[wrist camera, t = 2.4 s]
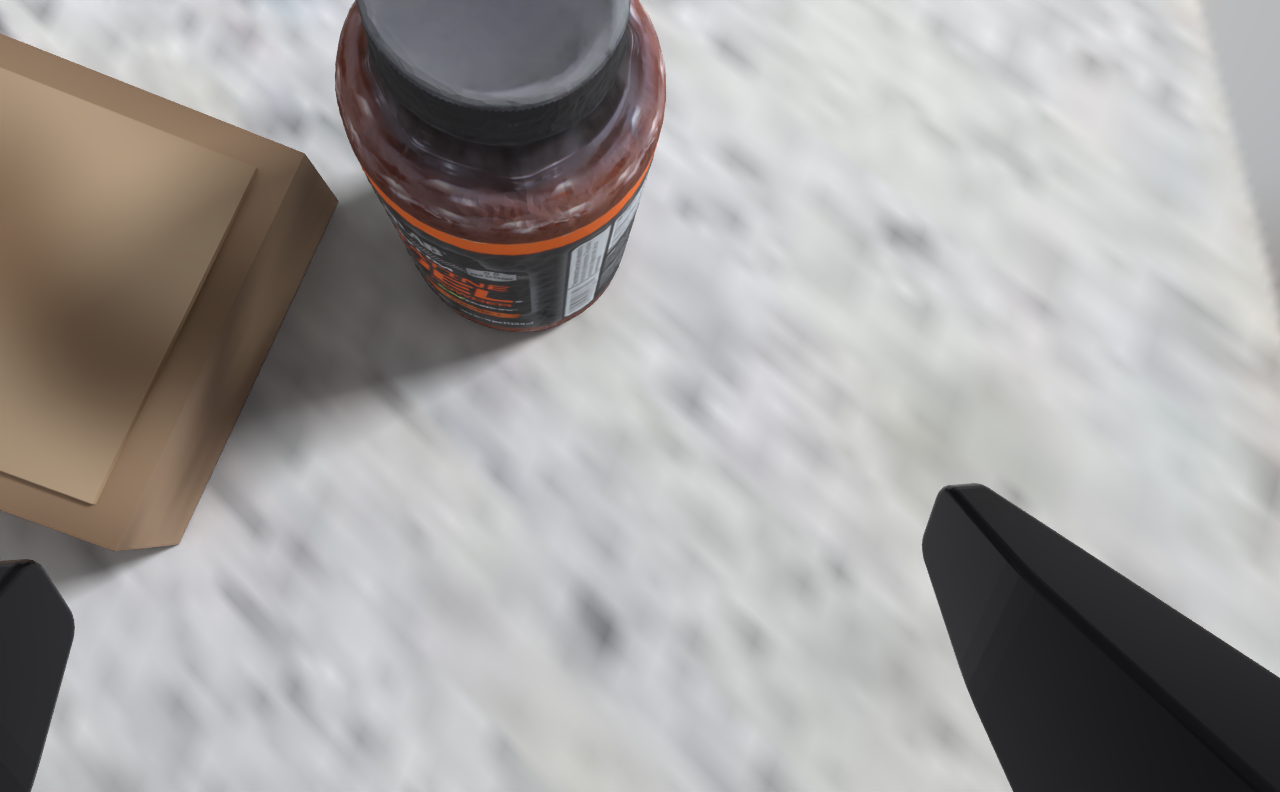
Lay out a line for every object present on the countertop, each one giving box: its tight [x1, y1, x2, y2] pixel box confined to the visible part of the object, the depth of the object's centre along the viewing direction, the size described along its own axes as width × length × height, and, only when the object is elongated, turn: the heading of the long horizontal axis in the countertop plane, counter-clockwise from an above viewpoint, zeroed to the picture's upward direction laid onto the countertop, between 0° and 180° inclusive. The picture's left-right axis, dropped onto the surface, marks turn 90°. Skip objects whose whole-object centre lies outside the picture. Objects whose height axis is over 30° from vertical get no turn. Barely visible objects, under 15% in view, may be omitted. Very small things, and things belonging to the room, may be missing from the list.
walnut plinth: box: [0, 34, 338, 551], centre depth 19 cm, size 10×10×3 cm
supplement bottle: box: [335, 0, 666, 332], centre depth 17 cm, size 6×6×11 cm
